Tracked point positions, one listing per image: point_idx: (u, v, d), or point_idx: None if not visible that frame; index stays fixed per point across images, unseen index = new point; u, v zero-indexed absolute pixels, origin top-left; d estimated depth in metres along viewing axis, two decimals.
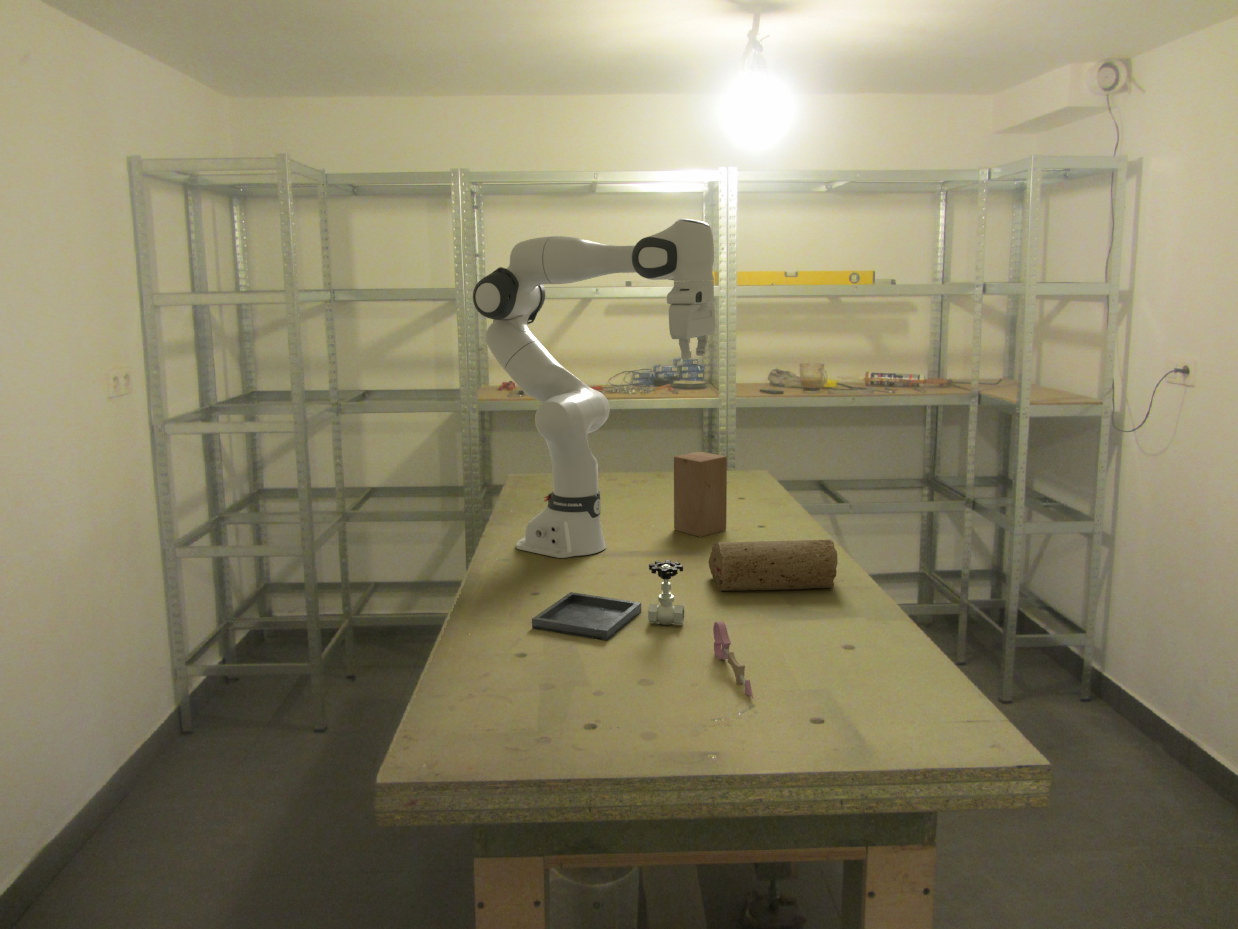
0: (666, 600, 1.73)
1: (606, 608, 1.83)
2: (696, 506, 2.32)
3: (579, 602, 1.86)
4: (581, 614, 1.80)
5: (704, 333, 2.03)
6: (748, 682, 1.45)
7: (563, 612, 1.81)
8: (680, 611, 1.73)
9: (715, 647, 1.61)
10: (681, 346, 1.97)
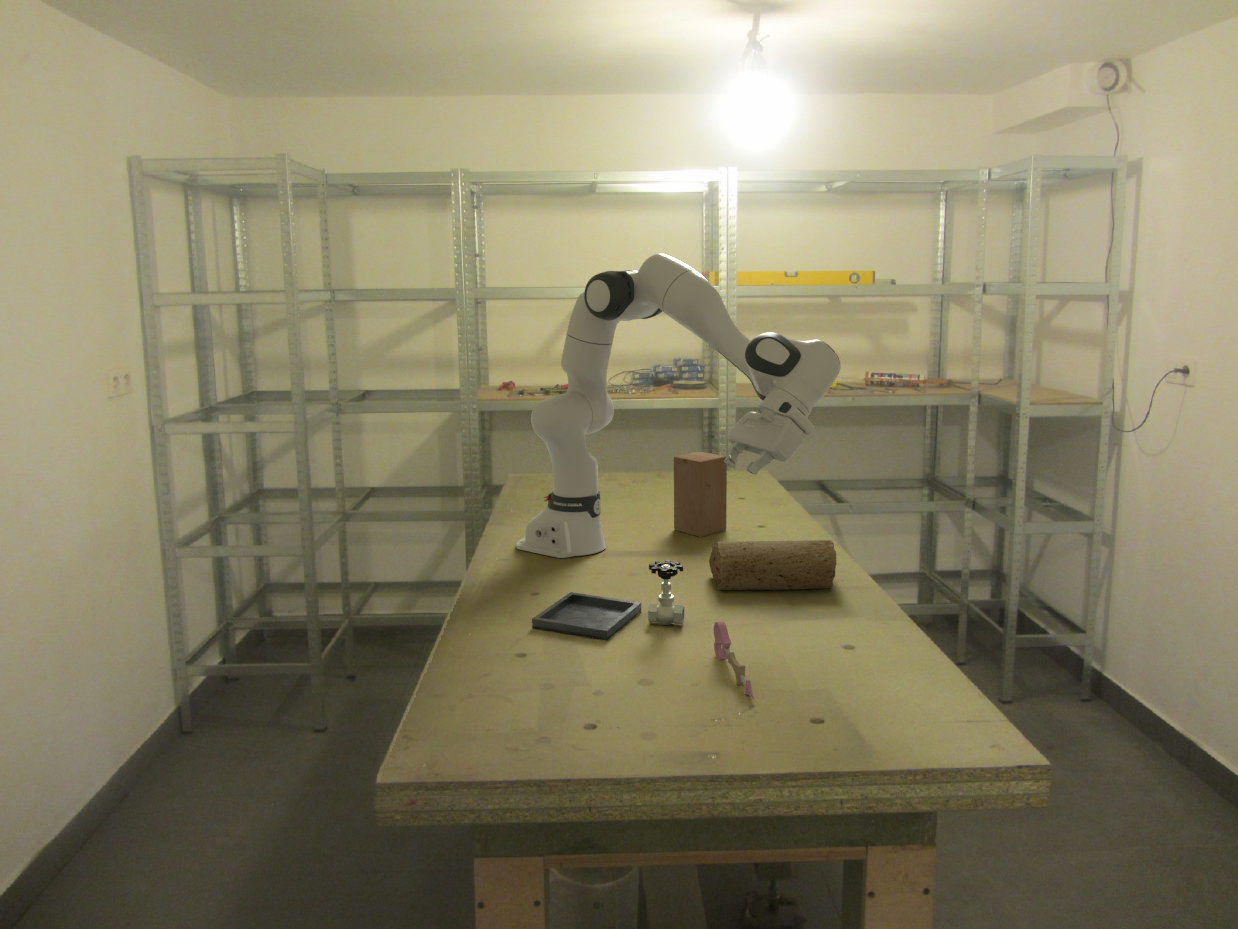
0: (666, 600, 1.73)
1: (606, 608, 1.83)
2: (696, 506, 2.32)
3: (579, 602, 1.86)
4: (581, 614, 1.80)
5: None
6: (748, 682, 1.45)
7: (563, 612, 1.81)
8: (680, 611, 1.73)
9: (715, 647, 1.61)
10: (761, 460, 1.71)
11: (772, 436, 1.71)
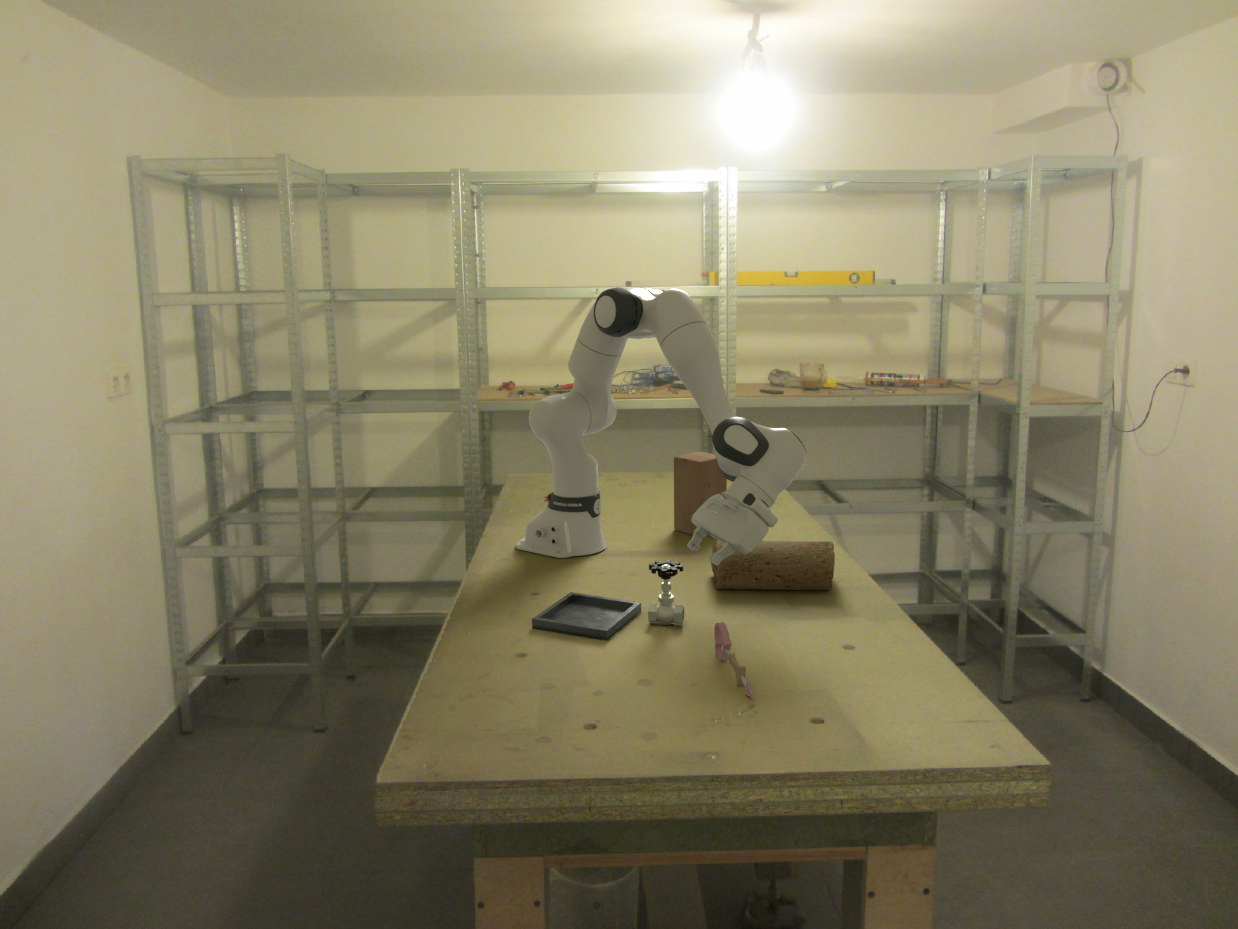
0: (666, 600, 1.73)
1: (606, 608, 1.83)
2: (696, 506, 2.32)
3: (579, 602, 1.86)
4: (581, 614, 1.80)
5: None
6: (749, 683, 1.45)
7: (563, 612, 1.81)
8: (680, 611, 1.73)
9: (716, 648, 1.60)
10: (723, 551, 1.70)
11: (736, 527, 1.70)
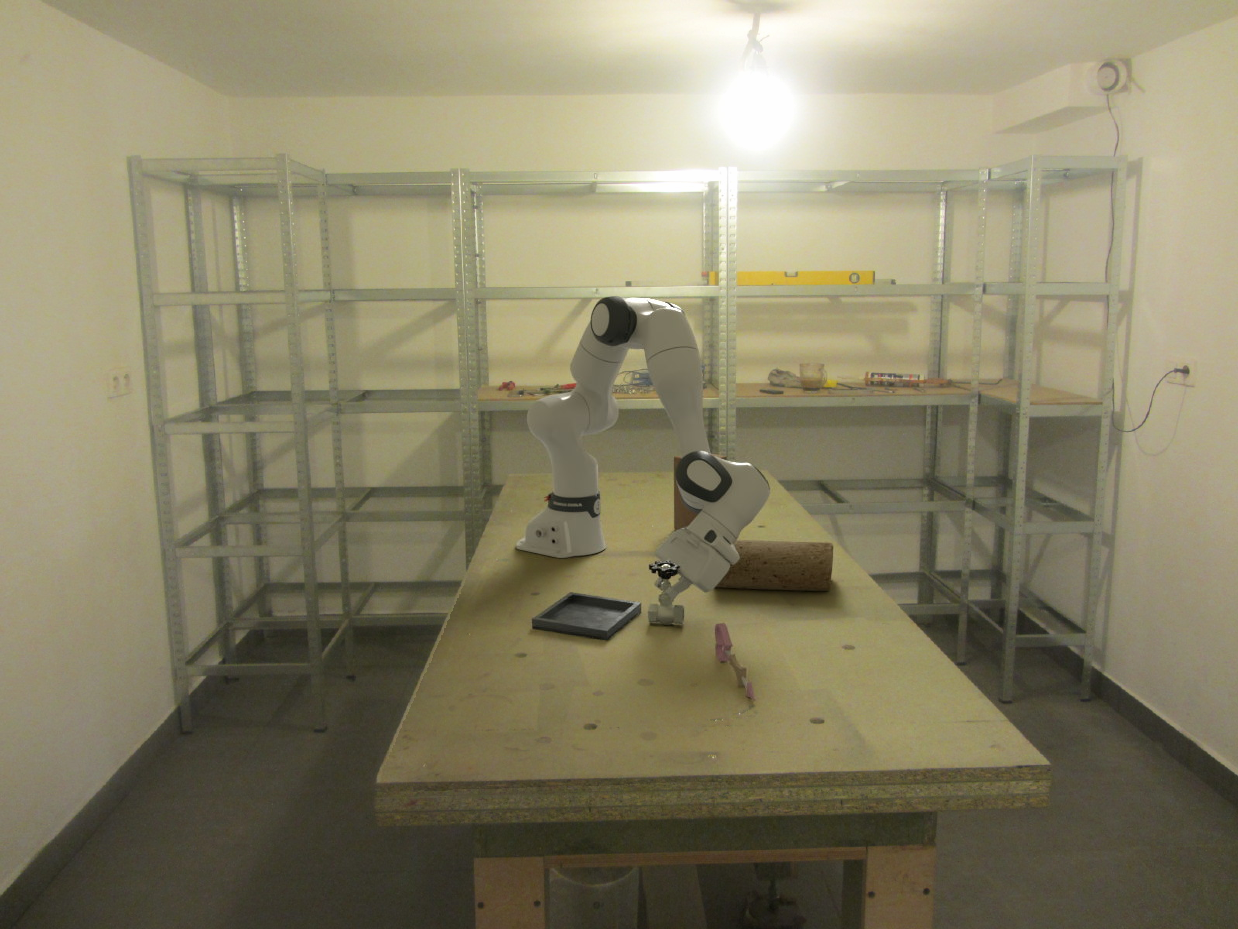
0: (666, 600, 1.73)
1: (606, 608, 1.83)
2: None
3: (579, 602, 1.86)
4: (581, 614, 1.80)
5: None
6: (750, 684, 1.44)
7: (563, 612, 1.81)
8: (680, 611, 1.73)
9: (716, 649, 1.60)
10: (679, 585, 1.70)
11: (696, 565, 1.68)
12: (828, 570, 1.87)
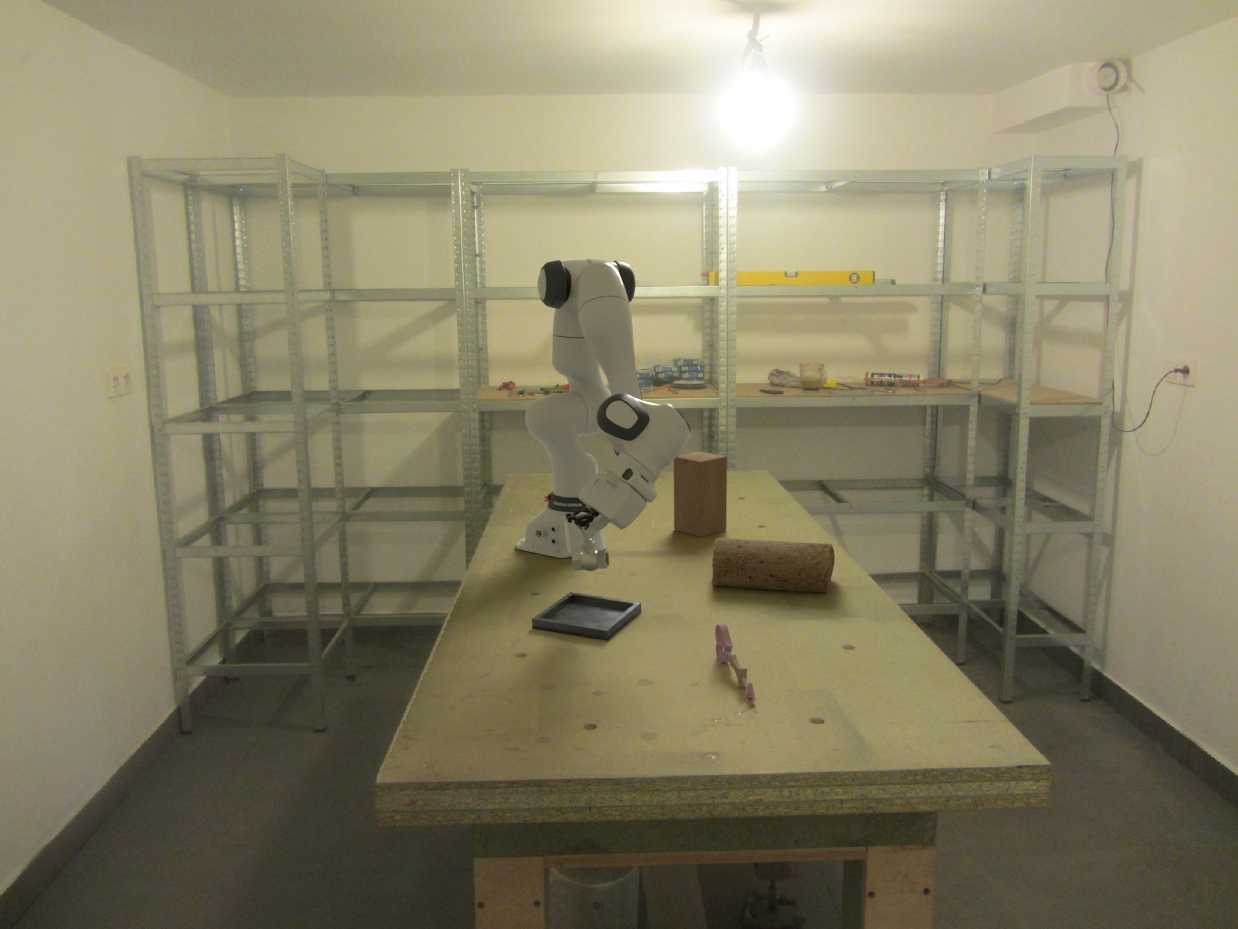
0: (587, 547, 1.74)
1: (606, 608, 1.83)
2: (696, 506, 2.32)
3: (579, 602, 1.86)
4: (581, 614, 1.80)
5: None
6: (750, 685, 1.44)
7: (563, 612, 1.81)
8: (602, 556, 1.74)
9: (717, 650, 1.60)
10: (597, 523, 1.71)
11: (613, 503, 1.69)
12: (824, 571, 1.86)
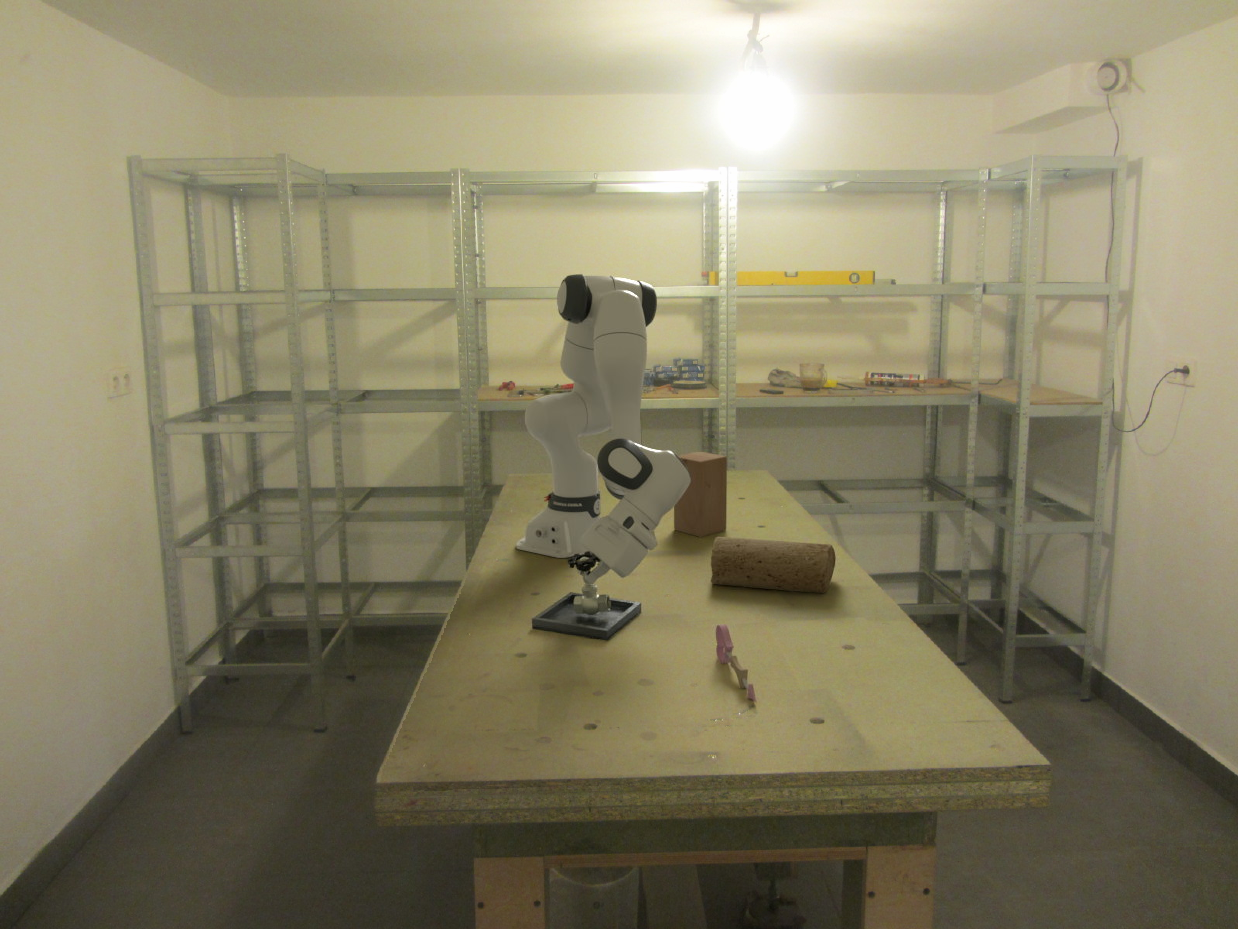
0: (589, 592, 1.76)
1: None
2: (696, 506, 2.32)
3: None
4: (581, 614, 1.80)
5: None
6: (751, 686, 1.44)
7: (563, 612, 1.81)
8: (604, 600, 1.76)
9: (718, 650, 1.59)
10: (597, 570, 1.73)
11: (614, 551, 1.71)
12: (822, 572, 1.86)
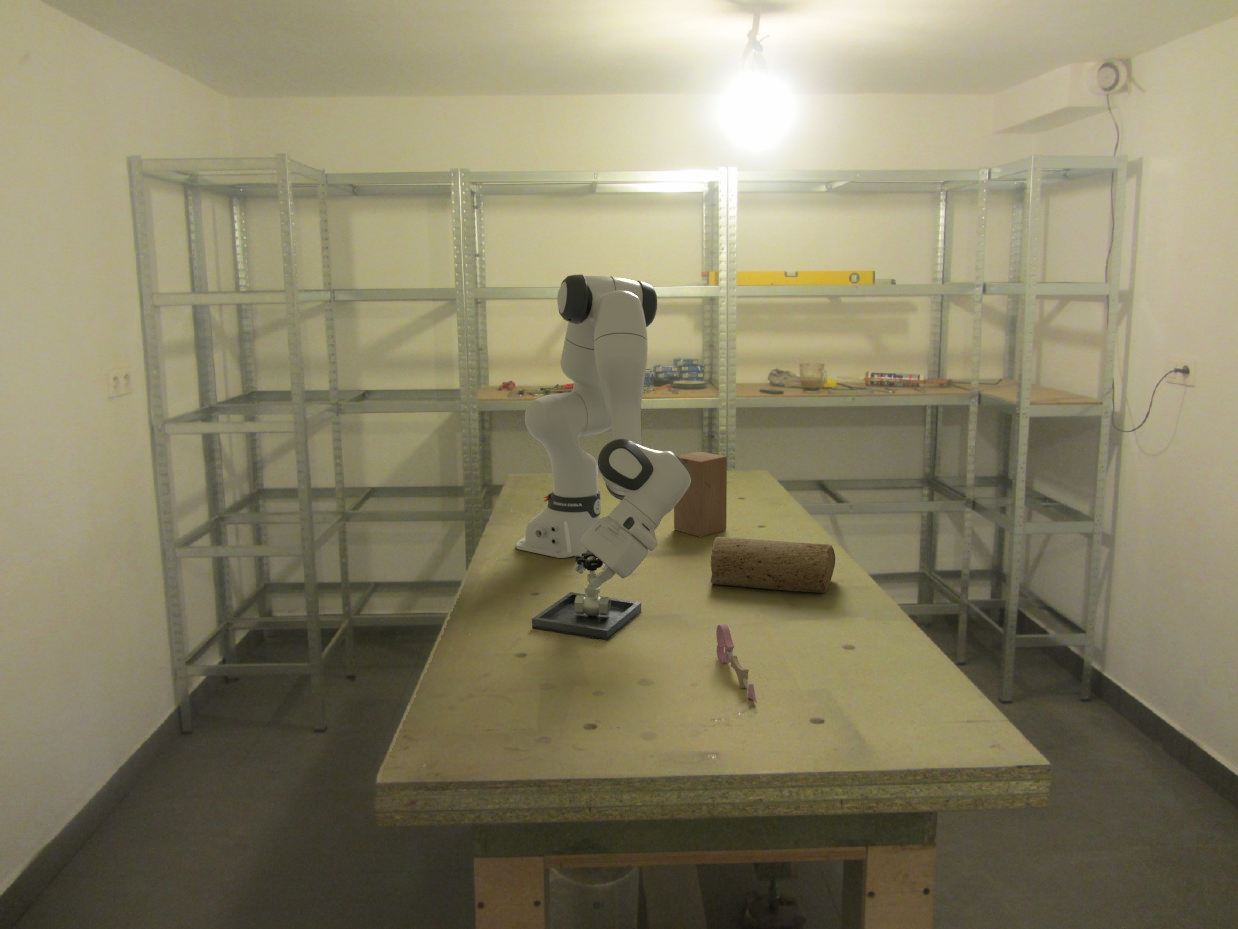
0: (592, 592, 1.76)
1: None
2: (696, 506, 2.32)
3: None
4: (581, 614, 1.80)
5: None
6: (752, 686, 1.44)
7: (563, 612, 1.81)
8: (605, 602, 1.76)
9: (718, 650, 1.59)
10: (603, 575, 1.71)
11: (615, 551, 1.71)
12: (821, 572, 1.86)
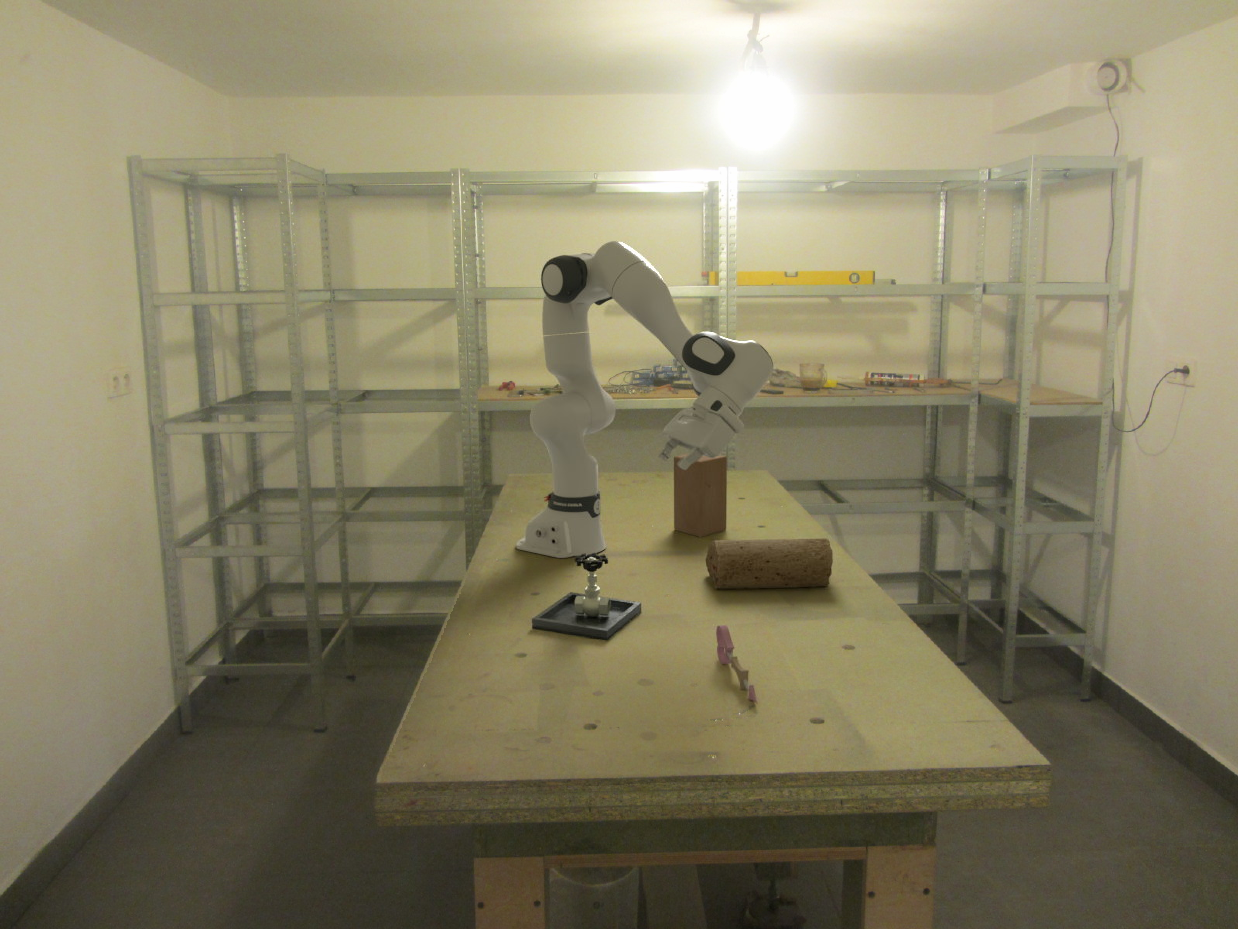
0: (592, 592, 1.76)
1: None
2: (696, 506, 2.32)
3: None
4: (581, 614, 1.80)
5: None
6: (752, 687, 1.43)
7: (563, 612, 1.81)
8: (605, 603, 1.76)
9: (718, 651, 1.59)
10: (691, 456, 1.76)
11: (703, 433, 1.76)
12: (829, 565, 1.90)
